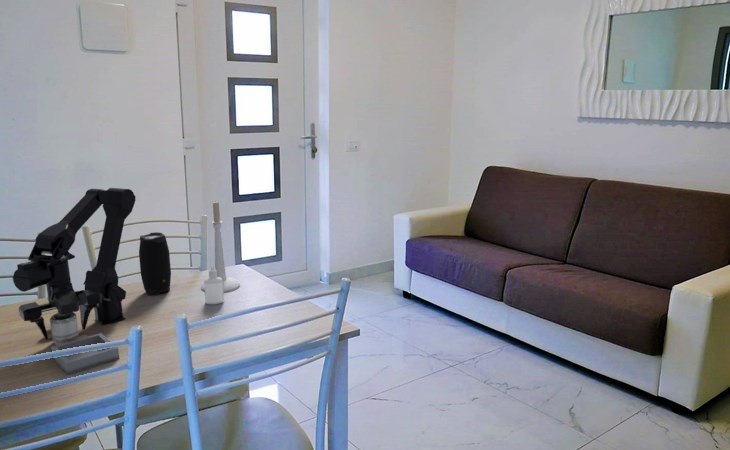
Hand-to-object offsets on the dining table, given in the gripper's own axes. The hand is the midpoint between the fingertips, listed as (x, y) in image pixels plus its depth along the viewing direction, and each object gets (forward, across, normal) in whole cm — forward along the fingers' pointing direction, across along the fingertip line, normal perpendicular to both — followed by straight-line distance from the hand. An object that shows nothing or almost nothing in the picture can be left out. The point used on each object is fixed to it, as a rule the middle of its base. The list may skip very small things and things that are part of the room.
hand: (65, 334), depth 150 cm
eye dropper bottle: (+2, +43, -2) cm, 43 cm away
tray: (+2, 0, -14) cm, 14 cm away
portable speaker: (+2, +34, +20) cm, 40 cm away
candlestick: (+2, +52, +10) cm, 53 cm away
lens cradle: (+2, 0, 0) cm, 2 cm away
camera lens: (+2, 0, 0) cm, 2 cm away
